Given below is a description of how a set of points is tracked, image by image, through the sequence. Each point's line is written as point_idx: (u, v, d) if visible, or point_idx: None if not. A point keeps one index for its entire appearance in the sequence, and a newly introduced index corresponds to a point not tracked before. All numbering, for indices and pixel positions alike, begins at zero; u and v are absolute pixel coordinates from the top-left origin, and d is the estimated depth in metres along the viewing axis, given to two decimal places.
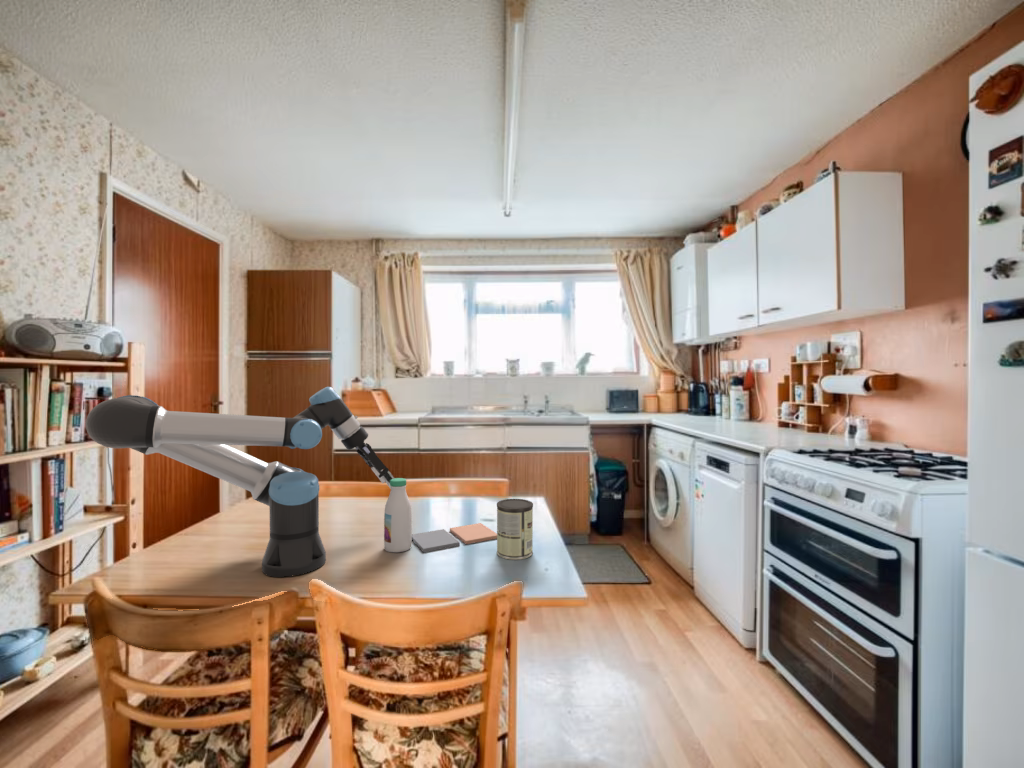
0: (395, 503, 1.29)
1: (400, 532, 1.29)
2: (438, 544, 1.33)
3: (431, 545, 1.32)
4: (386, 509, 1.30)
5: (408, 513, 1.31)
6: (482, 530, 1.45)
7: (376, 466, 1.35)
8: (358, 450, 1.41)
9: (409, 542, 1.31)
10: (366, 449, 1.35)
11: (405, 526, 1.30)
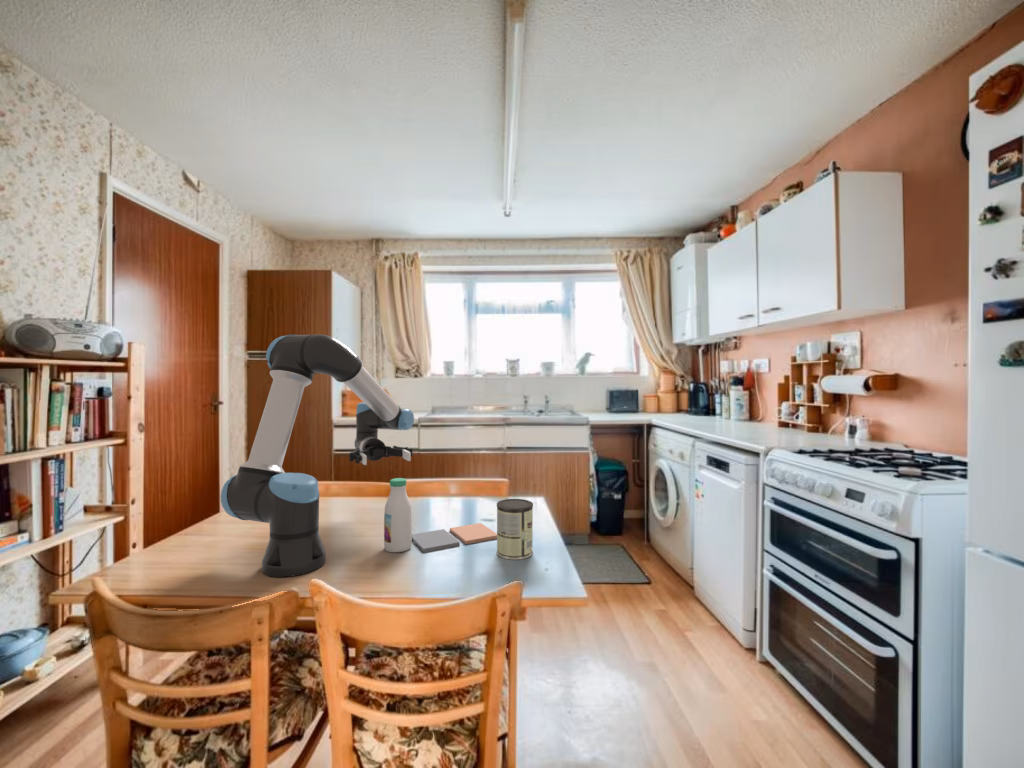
0: (395, 503, 1.29)
1: (400, 532, 1.29)
2: (438, 544, 1.33)
3: (431, 545, 1.32)
4: (386, 509, 1.30)
5: (408, 513, 1.31)
6: (482, 530, 1.45)
7: None
8: None
9: (409, 542, 1.31)
10: None
11: (405, 526, 1.30)
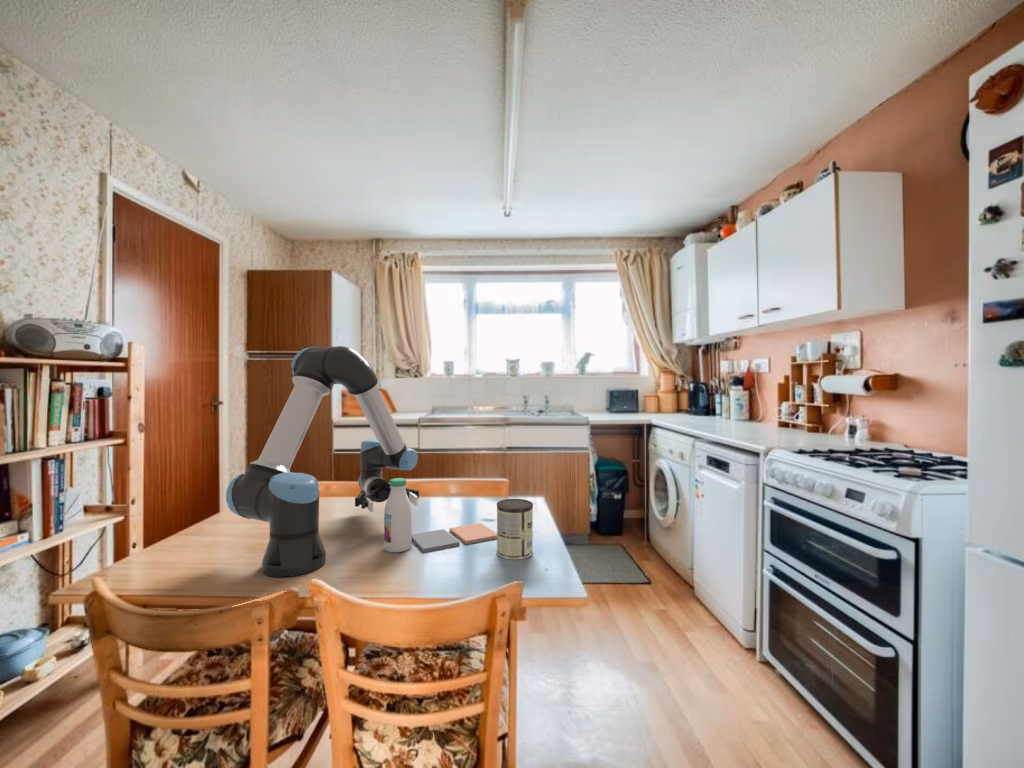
0: (395, 503, 1.29)
1: (400, 532, 1.29)
2: (438, 544, 1.33)
3: (431, 545, 1.32)
4: (386, 509, 1.30)
5: (408, 513, 1.31)
6: (482, 530, 1.45)
7: None
8: None
9: (409, 542, 1.31)
10: None
11: (405, 526, 1.30)
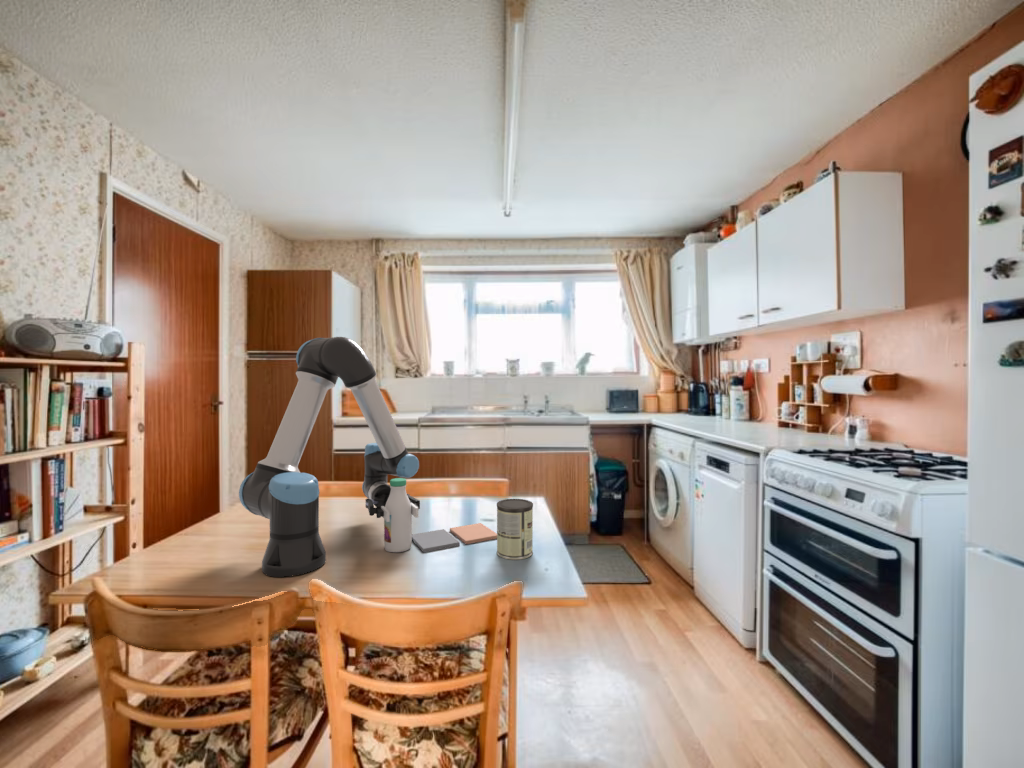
0: (395, 503, 1.29)
1: (400, 532, 1.29)
2: (438, 544, 1.33)
3: (431, 545, 1.32)
4: None
5: (408, 513, 1.31)
6: (482, 530, 1.45)
7: None
8: None
9: (409, 542, 1.31)
10: None
11: (406, 526, 1.30)
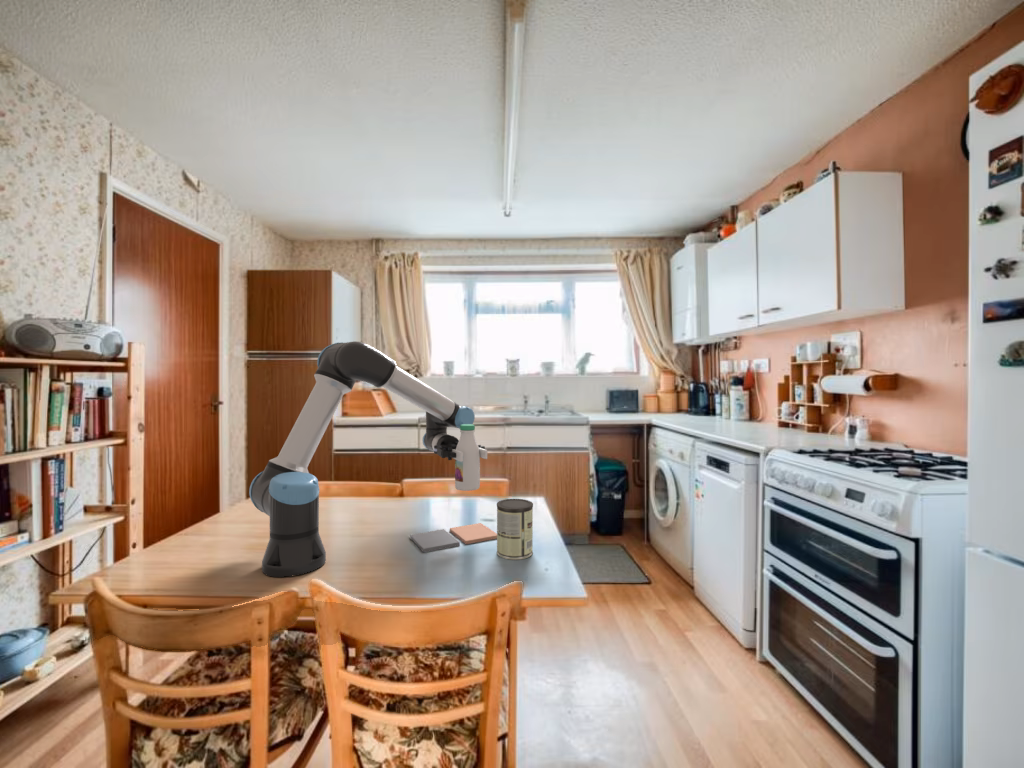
0: (466, 445, 1.40)
1: (471, 472, 1.40)
2: (438, 544, 1.33)
3: (431, 545, 1.32)
4: None
5: (477, 455, 1.42)
6: (482, 530, 1.45)
7: None
8: None
9: (478, 482, 1.42)
10: None
11: (476, 467, 1.41)
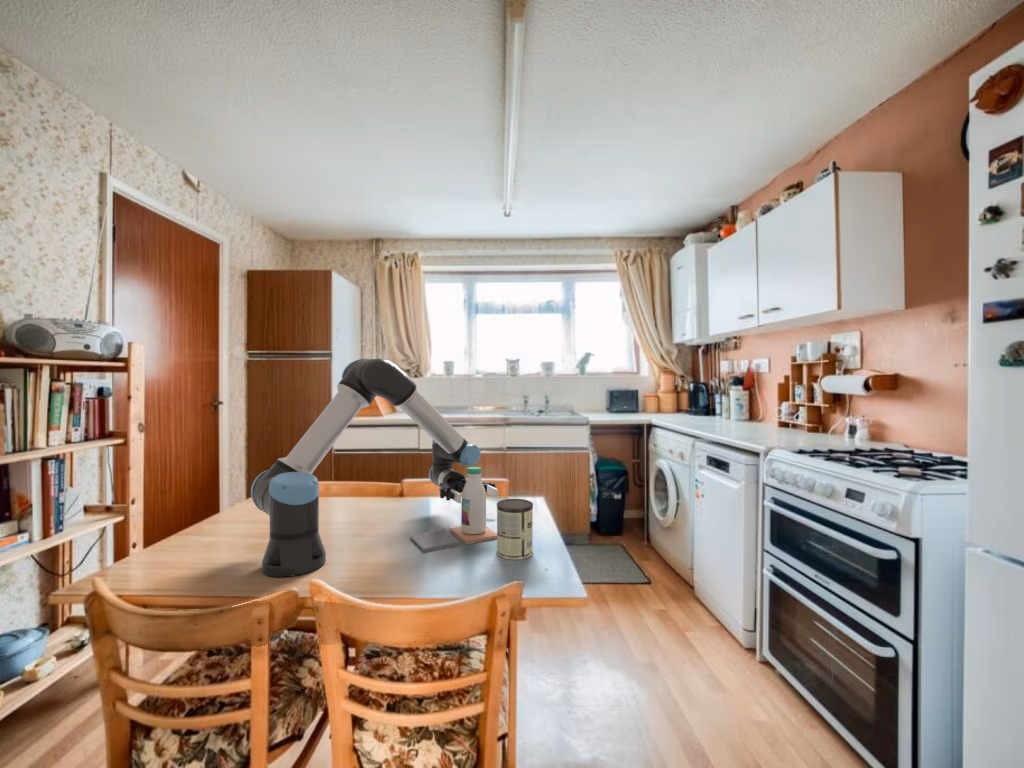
0: (473, 489, 1.41)
1: (478, 516, 1.41)
2: (438, 544, 1.33)
3: (431, 545, 1.32)
4: (464, 495, 1.42)
5: (484, 498, 1.43)
6: None
7: None
8: None
9: (484, 525, 1.43)
10: None
11: (482, 510, 1.42)
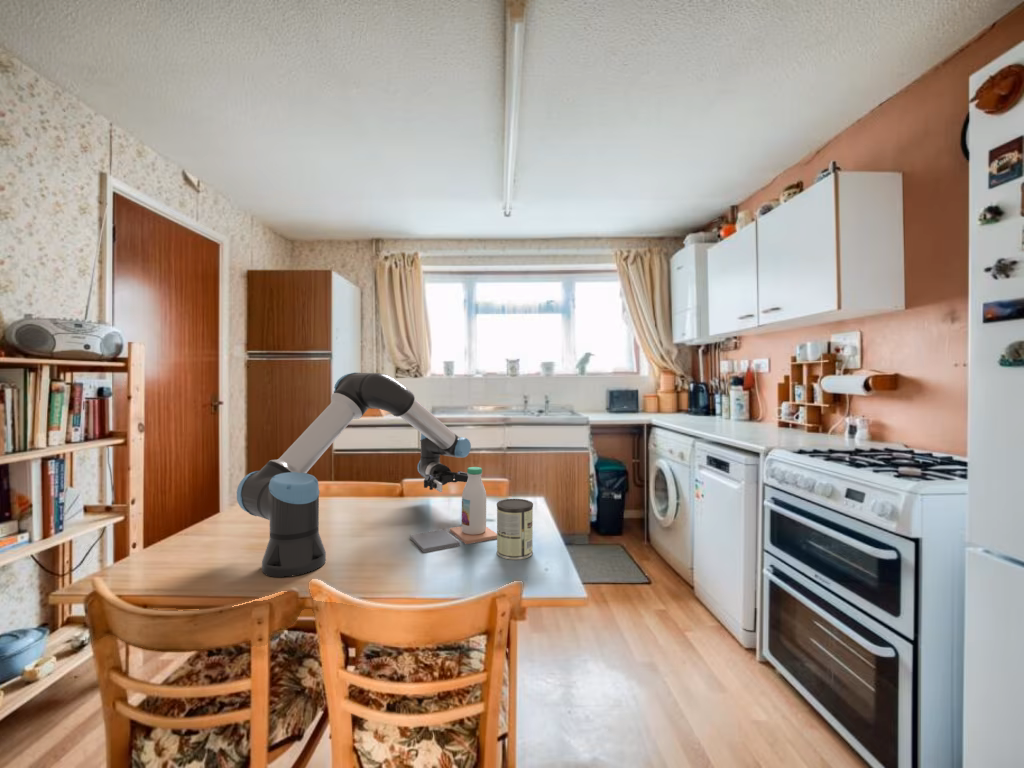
0: (473, 489, 1.41)
1: (478, 516, 1.41)
2: (438, 544, 1.33)
3: (431, 545, 1.32)
4: (464, 495, 1.42)
5: (484, 498, 1.43)
6: None
7: None
8: None
9: (485, 525, 1.43)
10: None
11: (482, 511, 1.42)
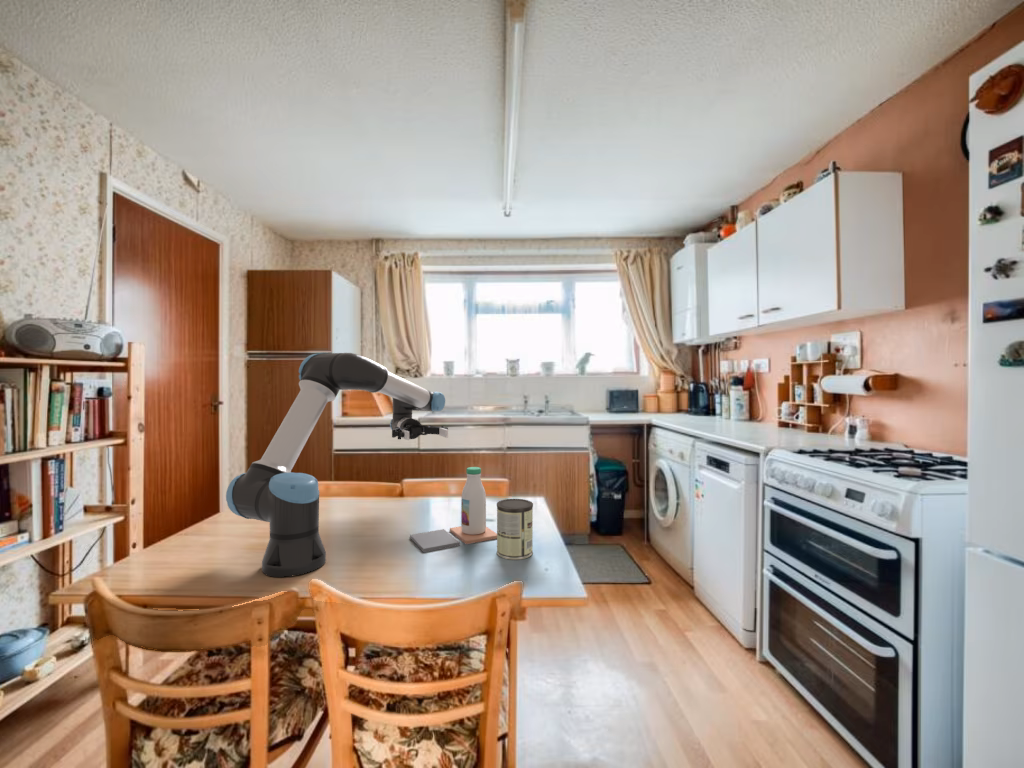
0: (472, 489, 1.41)
1: (477, 516, 1.41)
2: (438, 544, 1.33)
3: (431, 545, 1.32)
4: (464, 495, 1.42)
5: (483, 498, 1.43)
6: None
7: None
8: None
9: (484, 525, 1.43)
10: None
11: (482, 511, 1.42)
